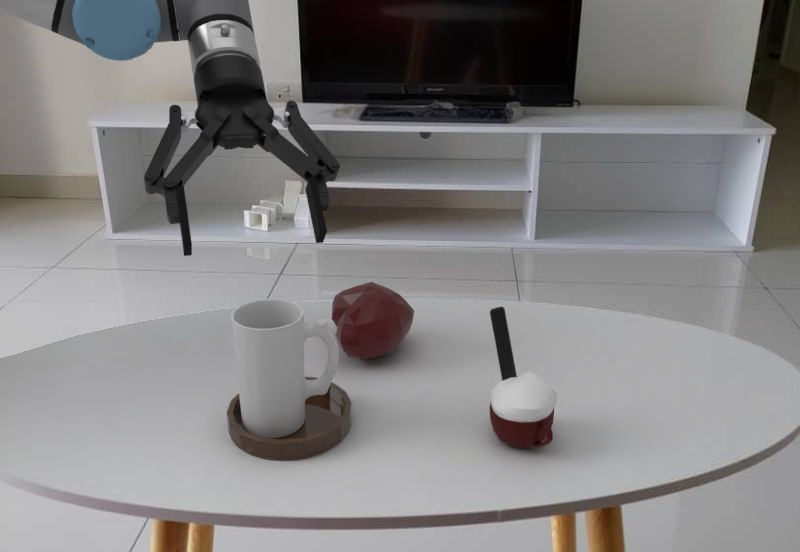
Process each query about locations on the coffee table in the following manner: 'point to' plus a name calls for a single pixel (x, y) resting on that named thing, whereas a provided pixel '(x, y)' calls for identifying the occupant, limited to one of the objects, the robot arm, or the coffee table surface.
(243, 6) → the robot arm
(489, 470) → the coffee table surface
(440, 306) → the coffee table surface
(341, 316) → the heart
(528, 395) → the cocoa
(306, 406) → the tray
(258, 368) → the mug
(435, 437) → the coffee table surface
